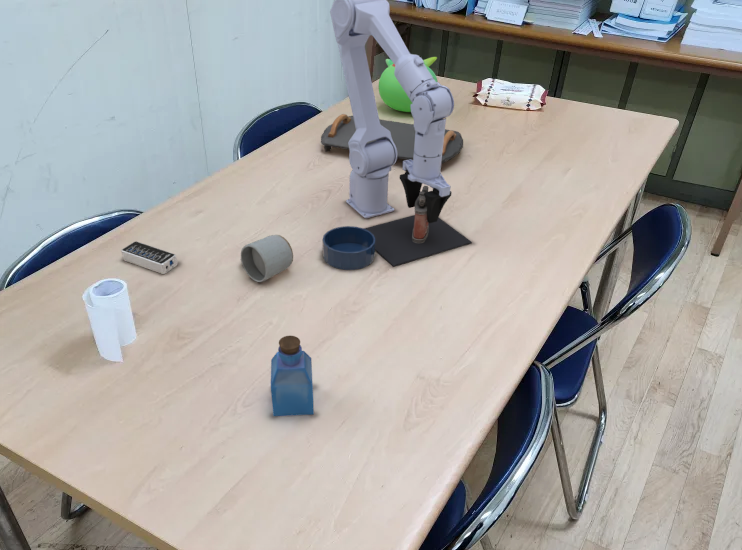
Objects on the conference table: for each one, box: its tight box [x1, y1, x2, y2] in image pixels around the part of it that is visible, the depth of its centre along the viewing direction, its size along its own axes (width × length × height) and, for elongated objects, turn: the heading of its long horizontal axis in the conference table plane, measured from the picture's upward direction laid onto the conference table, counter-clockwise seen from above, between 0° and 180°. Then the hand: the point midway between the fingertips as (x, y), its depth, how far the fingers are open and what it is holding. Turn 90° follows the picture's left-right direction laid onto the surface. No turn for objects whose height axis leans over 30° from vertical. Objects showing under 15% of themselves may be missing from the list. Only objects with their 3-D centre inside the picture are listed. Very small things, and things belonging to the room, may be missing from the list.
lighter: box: [412, 185, 430, 243], centre depth 137 cm, size 8×3×10 cm, turn 168°
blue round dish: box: [321, 225, 376, 271], centre depth 133 cm, size 11×11×4 cm
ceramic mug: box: [240, 234, 294, 283], centre depth 127 cm, size 11×8×8 cm
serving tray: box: [320, 113, 464, 167], centre depth 175 cm, size 39×23×6 cm, turn 69°
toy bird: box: [378, 56, 438, 113], centre depth 194 cm, size 18×17×15 cm
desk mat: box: [364, 214, 473, 268], centre depth 140 cm, size 16×20×1 cm
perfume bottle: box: [270, 335, 315, 417], centre depth 97 cm, size 6×6×12 cm
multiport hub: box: [120, 240, 178, 275], centre depth 130 cm, size 4×11×2 cm, turn 62°
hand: (422, 214), depth 138 cm, fingers open, 7 cm apart
